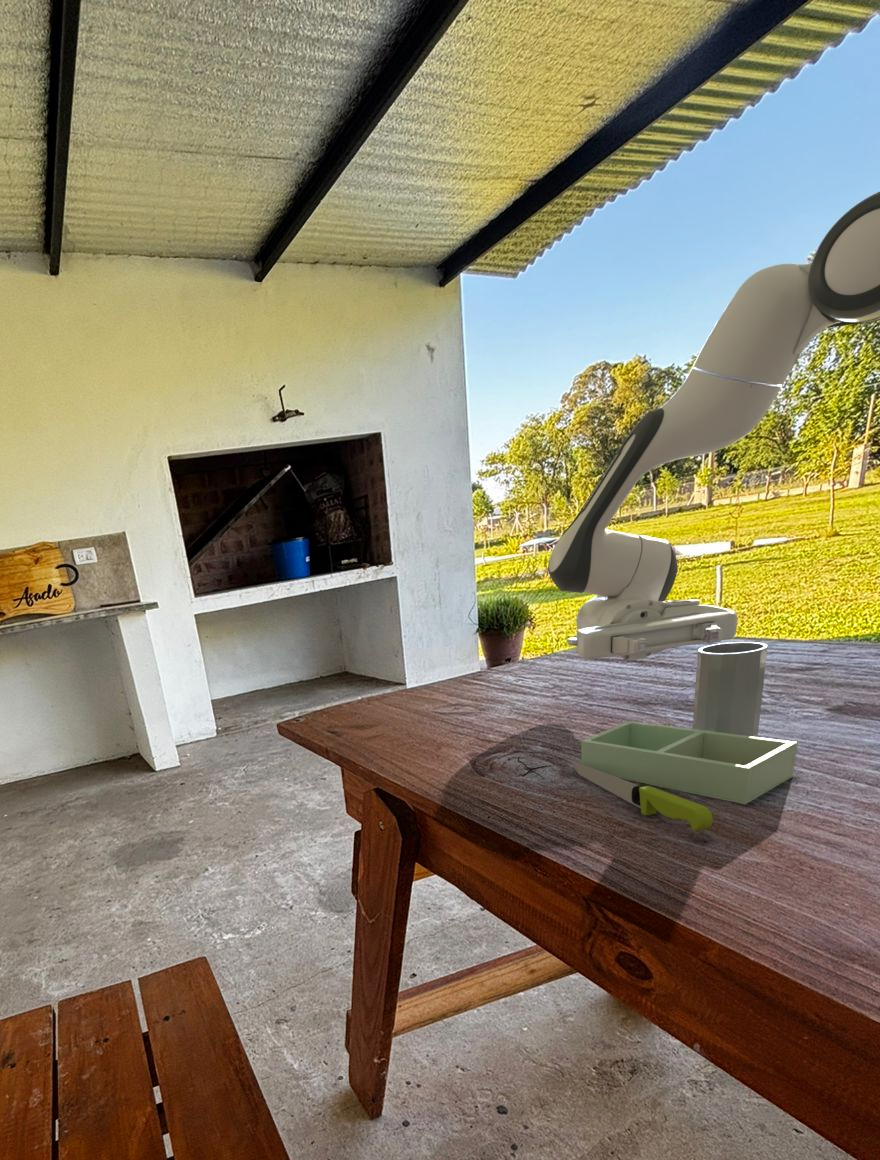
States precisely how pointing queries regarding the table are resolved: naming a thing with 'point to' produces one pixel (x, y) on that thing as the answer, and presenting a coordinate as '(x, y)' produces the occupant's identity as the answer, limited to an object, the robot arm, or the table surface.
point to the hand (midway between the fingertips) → (677, 641)
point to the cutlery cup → (729, 687)
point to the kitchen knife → (650, 798)
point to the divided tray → (692, 759)
